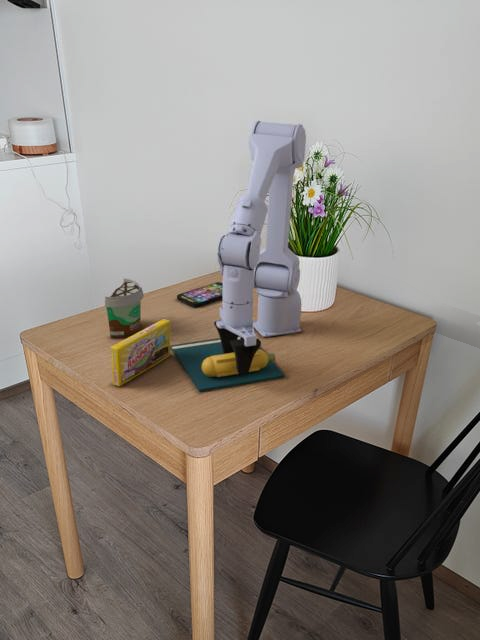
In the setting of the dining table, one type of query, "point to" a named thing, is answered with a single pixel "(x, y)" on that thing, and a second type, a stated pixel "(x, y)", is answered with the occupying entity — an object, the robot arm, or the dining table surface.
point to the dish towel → (192, 363)
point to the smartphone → (202, 294)
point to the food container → (124, 309)
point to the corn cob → (233, 363)
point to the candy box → (140, 352)
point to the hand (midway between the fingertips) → (236, 363)
